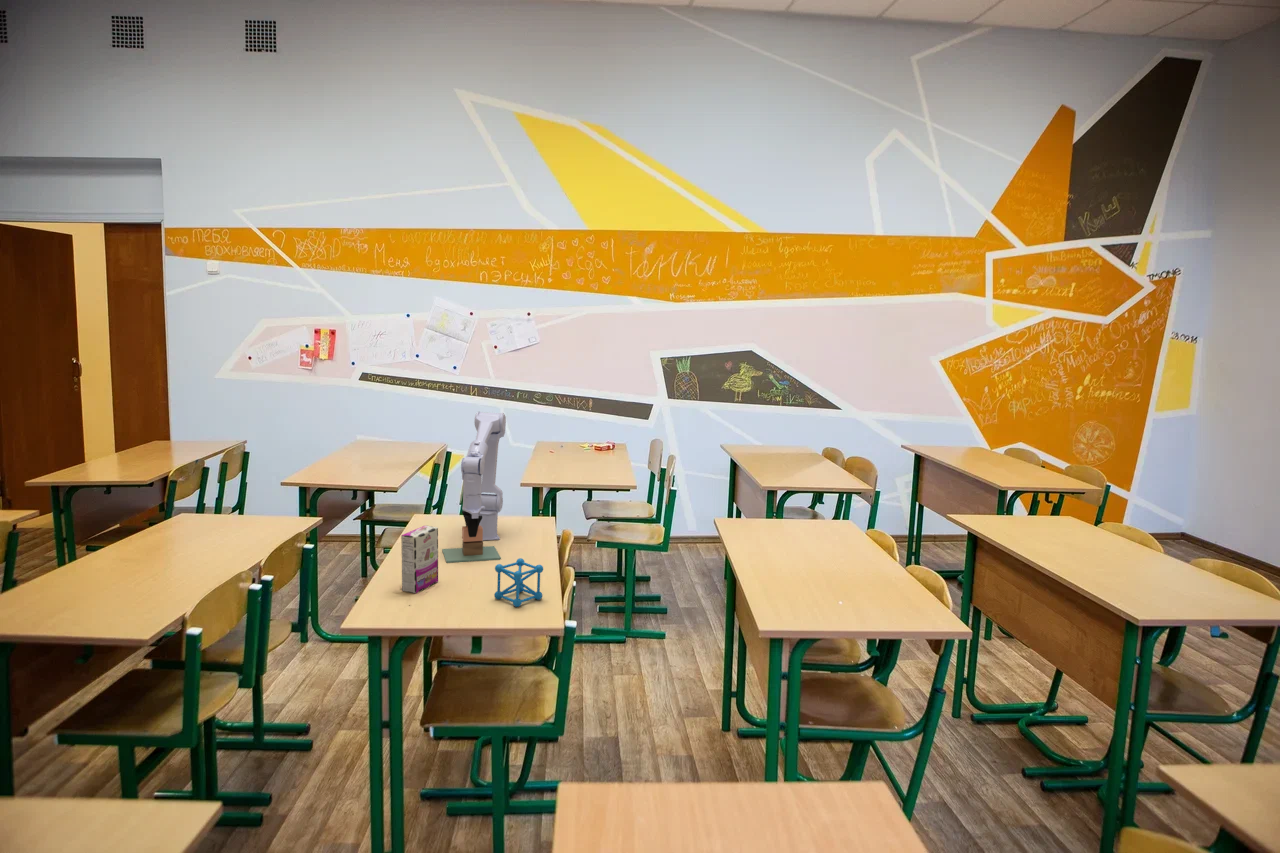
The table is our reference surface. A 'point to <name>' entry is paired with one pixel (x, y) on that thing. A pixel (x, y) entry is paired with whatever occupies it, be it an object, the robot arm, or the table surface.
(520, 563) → the molecular structure
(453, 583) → the table surface
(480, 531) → the terracotta brick
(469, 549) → the walnut brick
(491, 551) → the baseplate
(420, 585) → the candy bar box
